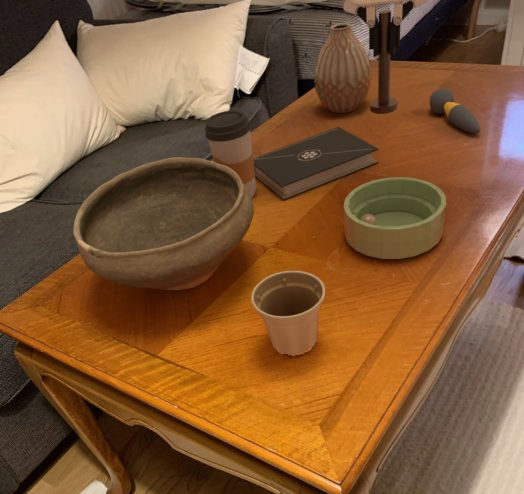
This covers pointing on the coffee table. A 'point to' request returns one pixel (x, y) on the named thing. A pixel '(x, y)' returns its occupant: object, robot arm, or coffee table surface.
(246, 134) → the coffee cup
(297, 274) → the flower pot
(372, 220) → the bead
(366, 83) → the vase
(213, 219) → the bowl
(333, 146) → the book
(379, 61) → the stick
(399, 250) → the green round dish
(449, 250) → the coffee table surface
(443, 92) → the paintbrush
